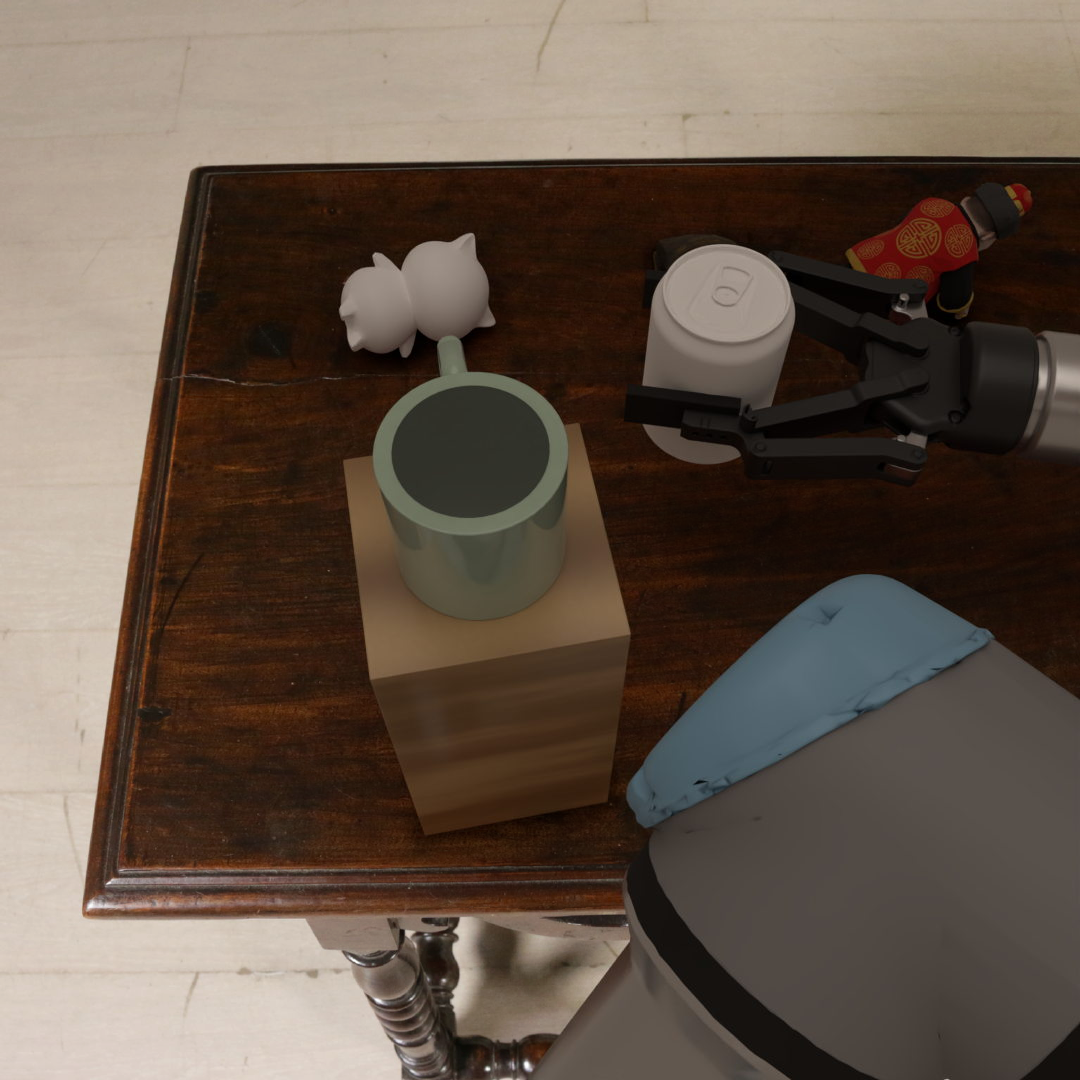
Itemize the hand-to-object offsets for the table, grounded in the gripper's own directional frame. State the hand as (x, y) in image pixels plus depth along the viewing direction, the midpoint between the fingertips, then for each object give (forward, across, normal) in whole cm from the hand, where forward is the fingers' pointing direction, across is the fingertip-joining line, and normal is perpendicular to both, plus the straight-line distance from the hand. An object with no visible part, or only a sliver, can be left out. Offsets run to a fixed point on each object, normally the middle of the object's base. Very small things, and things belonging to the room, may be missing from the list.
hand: (635, 344), depth 70 cm
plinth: (+5, +18, +19) cm, 27 cm away
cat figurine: (+19, -15, +19) cm, 31 cm away
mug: (+6, +17, -7) cm, 19 cm away
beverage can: (-5, 0, +7) cm, 8 cm away
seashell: (-5, -19, +19) cm, 28 cm away
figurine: (-22, -24, +19) cm, 38 cm away
